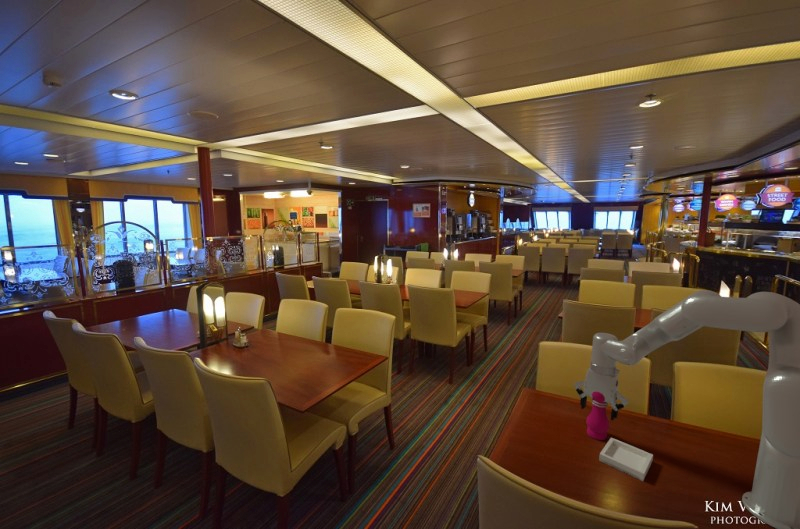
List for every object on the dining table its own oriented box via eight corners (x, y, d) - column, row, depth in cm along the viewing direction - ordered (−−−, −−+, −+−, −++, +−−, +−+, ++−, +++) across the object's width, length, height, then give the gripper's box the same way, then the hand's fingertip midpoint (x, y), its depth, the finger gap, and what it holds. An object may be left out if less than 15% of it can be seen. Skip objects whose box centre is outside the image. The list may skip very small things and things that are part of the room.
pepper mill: (580, 431, 127) (585, 380, 124) (594, 426, 130) (598, 376, 127) (599, 443, 120) (604, 390, 117) (612, 437, 123) (618, 385, 120)
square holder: (652, 461, 111) (653, 454, 111) (643, 481, 103) (644, 473, 103) (610, 443, 120) (611, 437, 120) (599, 460, 112) (599, 453, 111)
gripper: (634, 373, 118) (628, 419, 120) (580, 357, 130) (576, 399, 133) (628, 380, 112) (622, 428, 115) (572, 363, 125) (568, 407, 127)
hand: (597, 413), depth 124 cm, fingers open, 9 cm apart
